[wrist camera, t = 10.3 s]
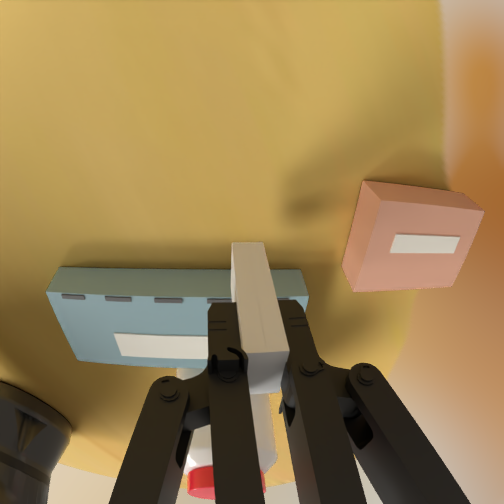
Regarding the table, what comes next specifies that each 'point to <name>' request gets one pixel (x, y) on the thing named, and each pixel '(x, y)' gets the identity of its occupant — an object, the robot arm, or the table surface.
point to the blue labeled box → (148, 312)
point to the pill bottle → (201, 450)
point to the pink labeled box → (408, 237)
